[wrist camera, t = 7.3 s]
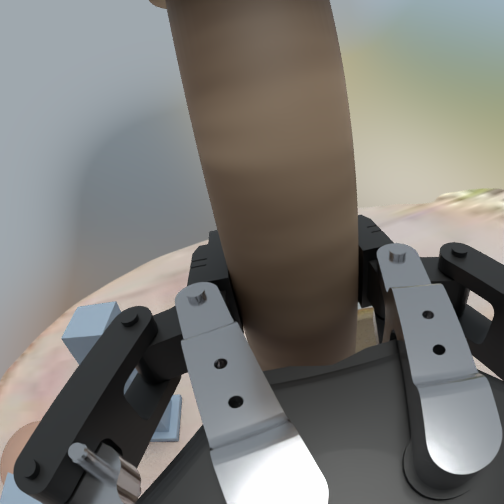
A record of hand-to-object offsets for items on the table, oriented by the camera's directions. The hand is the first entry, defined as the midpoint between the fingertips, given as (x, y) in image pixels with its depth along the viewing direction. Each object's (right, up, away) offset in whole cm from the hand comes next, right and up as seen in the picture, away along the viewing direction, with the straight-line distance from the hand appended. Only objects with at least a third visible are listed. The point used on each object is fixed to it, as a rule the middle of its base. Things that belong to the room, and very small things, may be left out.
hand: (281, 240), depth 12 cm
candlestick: (+2, -11, +3) cm, 11 cm away
